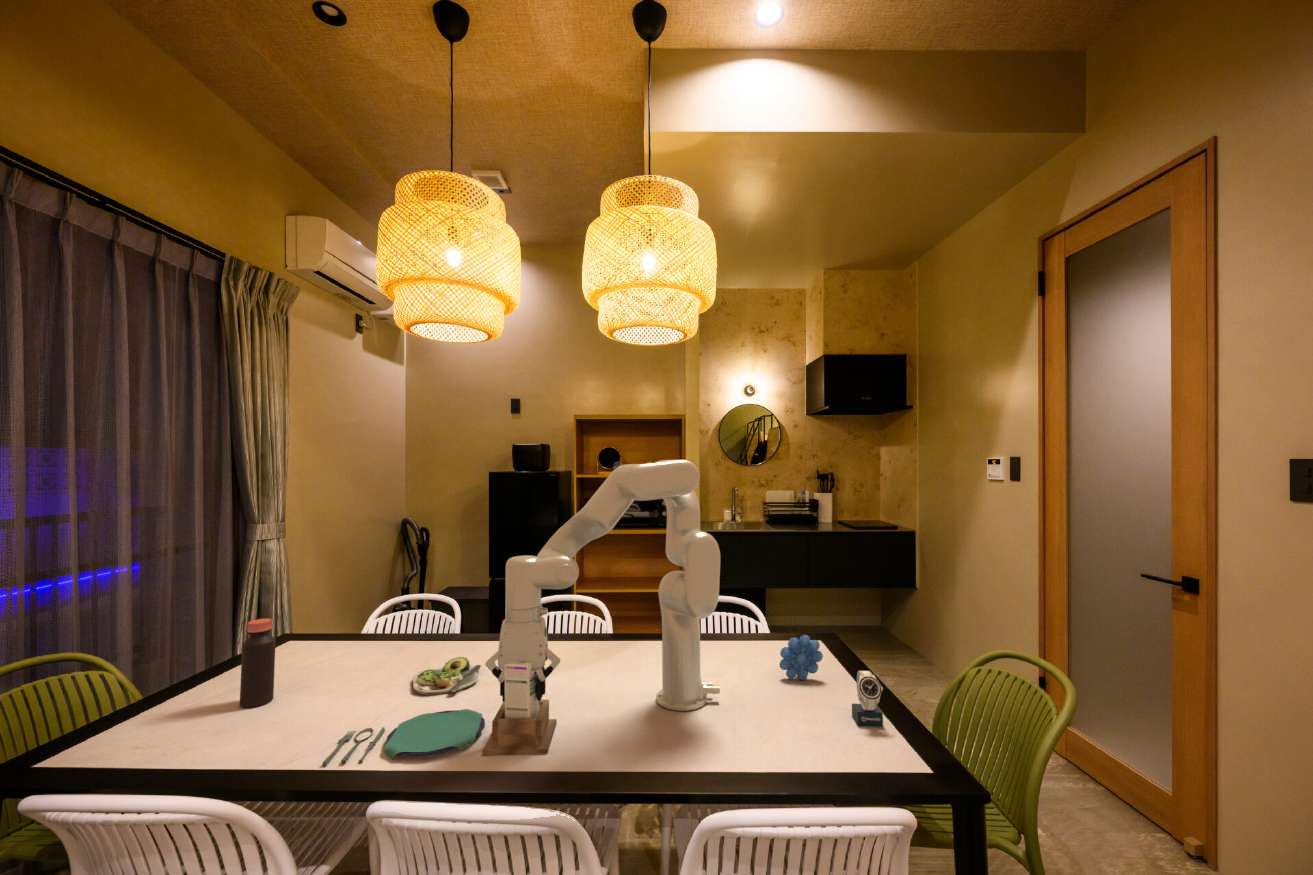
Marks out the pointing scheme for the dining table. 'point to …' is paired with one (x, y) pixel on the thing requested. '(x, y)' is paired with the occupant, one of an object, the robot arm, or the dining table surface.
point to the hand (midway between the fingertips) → (522, 697)
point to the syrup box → (521, 691)
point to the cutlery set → (423, 735)
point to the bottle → (257, 665)
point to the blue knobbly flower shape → (800, 657)
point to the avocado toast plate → (447, 677)
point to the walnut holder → (521, 733)
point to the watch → (867, 701)
